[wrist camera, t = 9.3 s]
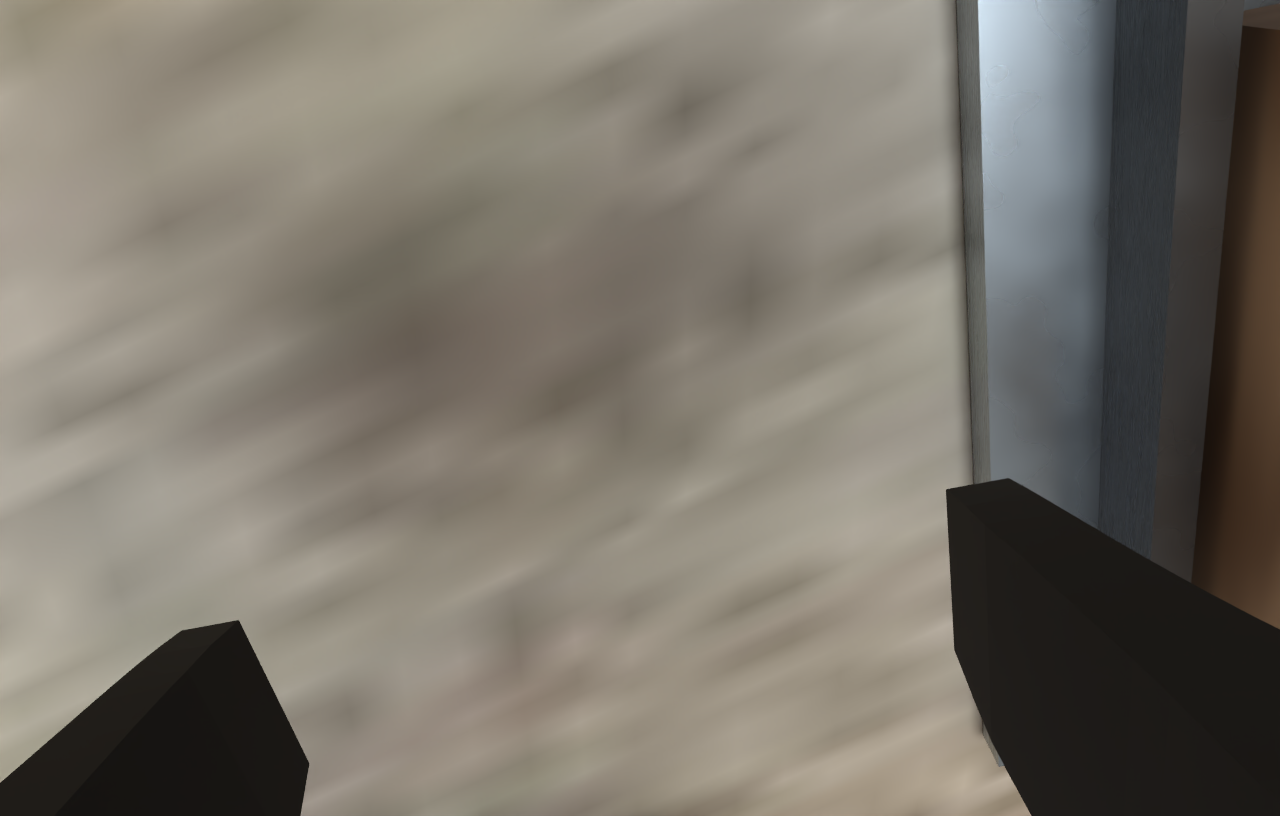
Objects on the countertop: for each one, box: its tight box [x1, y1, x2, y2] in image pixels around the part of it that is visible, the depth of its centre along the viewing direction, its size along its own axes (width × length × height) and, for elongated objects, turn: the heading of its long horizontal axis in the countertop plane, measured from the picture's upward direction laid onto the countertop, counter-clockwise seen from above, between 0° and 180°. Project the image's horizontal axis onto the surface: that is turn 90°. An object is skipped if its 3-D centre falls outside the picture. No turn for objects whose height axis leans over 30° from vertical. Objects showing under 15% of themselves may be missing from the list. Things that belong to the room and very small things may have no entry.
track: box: [956, 0, 1280, 767], centre depth 17 cm, size 20×10×3 cm, turn 11°
